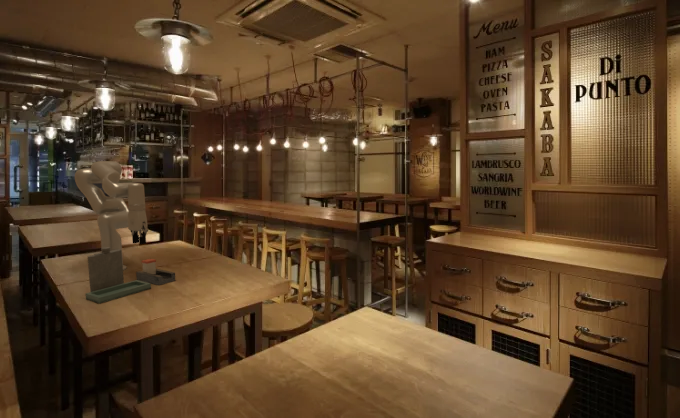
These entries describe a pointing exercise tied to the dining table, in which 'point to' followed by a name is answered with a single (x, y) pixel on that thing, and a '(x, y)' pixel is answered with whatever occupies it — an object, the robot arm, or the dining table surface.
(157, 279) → the switch panel
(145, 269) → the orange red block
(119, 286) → the tray
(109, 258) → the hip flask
